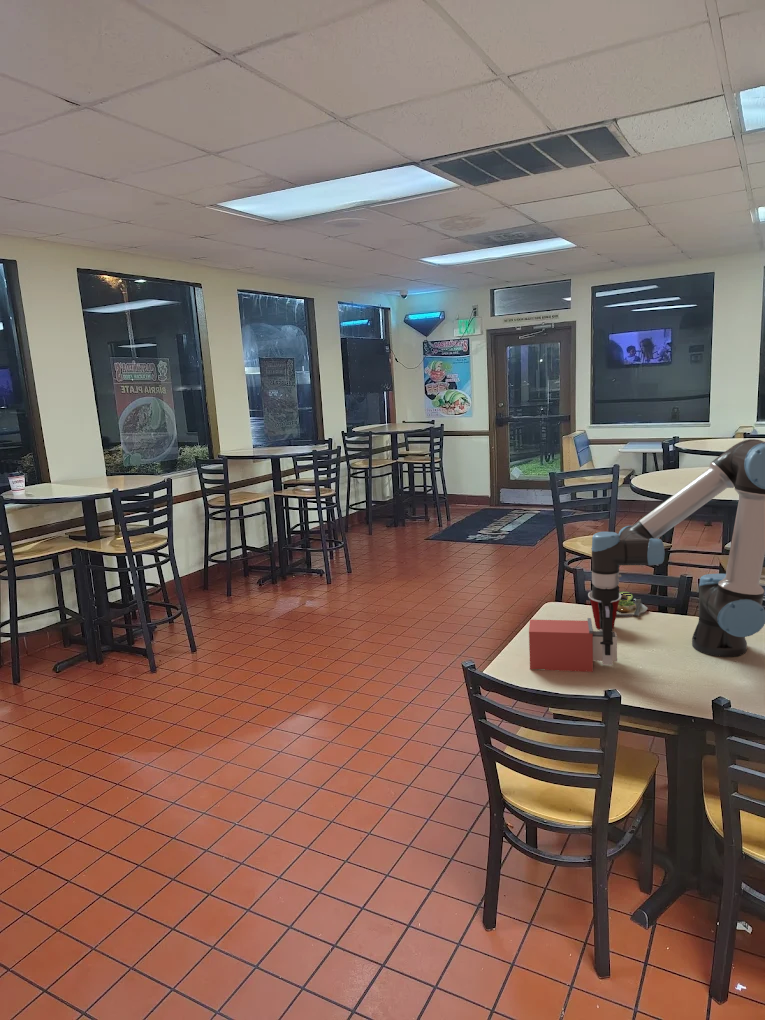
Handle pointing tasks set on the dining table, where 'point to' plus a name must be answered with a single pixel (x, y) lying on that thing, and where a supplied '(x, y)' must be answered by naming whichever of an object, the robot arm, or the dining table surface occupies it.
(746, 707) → the dining table surface
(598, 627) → the plastic cup
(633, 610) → the salad plate
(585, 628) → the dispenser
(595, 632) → the white rectangular block
